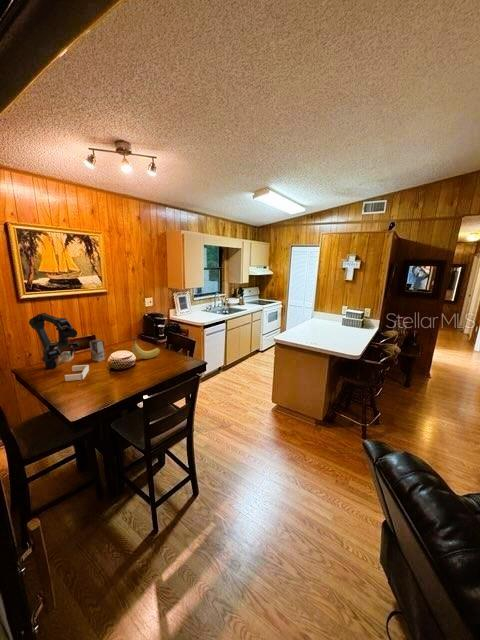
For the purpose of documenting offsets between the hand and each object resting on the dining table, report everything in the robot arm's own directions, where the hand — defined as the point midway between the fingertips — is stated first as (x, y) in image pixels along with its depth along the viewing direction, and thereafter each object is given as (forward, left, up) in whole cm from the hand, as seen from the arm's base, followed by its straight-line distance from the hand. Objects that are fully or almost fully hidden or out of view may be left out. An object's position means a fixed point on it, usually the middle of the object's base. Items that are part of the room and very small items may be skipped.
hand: (66, 356), depth 192 cm
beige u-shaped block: (+8, -9, -11) cm, 17 cm away
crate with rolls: (0, 0, -3) cm, 2 cm away
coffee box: (+16, +20, -11) cm, 28 cm away
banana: (+54, +14, -11) cm, 57 cm away
